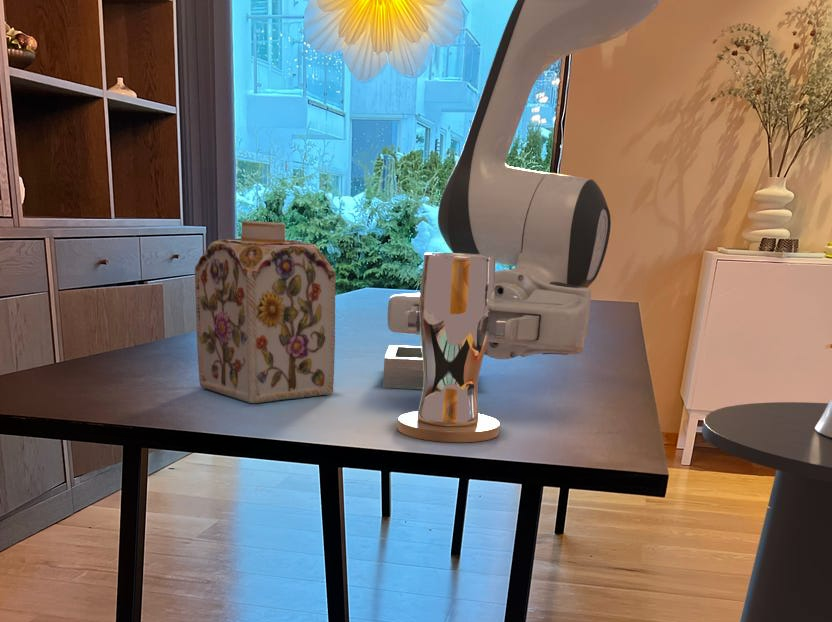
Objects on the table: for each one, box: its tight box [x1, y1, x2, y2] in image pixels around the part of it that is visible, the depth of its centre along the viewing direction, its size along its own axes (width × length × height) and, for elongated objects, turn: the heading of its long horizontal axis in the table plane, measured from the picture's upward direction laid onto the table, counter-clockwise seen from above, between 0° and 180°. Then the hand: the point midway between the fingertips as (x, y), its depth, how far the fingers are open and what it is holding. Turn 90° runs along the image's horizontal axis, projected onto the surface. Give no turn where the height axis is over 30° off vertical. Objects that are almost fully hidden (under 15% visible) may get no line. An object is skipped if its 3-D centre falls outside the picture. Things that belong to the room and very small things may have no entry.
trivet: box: [397, 410, 501, 443], centre depth 88 cm, size 10×10×1 cm
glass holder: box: [382, 344, 423, 390], centre depth 113 cm, size 11×11×4 cm
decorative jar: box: [194, 220, 337, 405], centre depth 100 cm, size 12×12×18 cm
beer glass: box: [417, 252, 496, 427], centre depth 85 cm, size 7×7×15 cm
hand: (454, 326), depth 84 cm, fingers open, 8 cm apart
